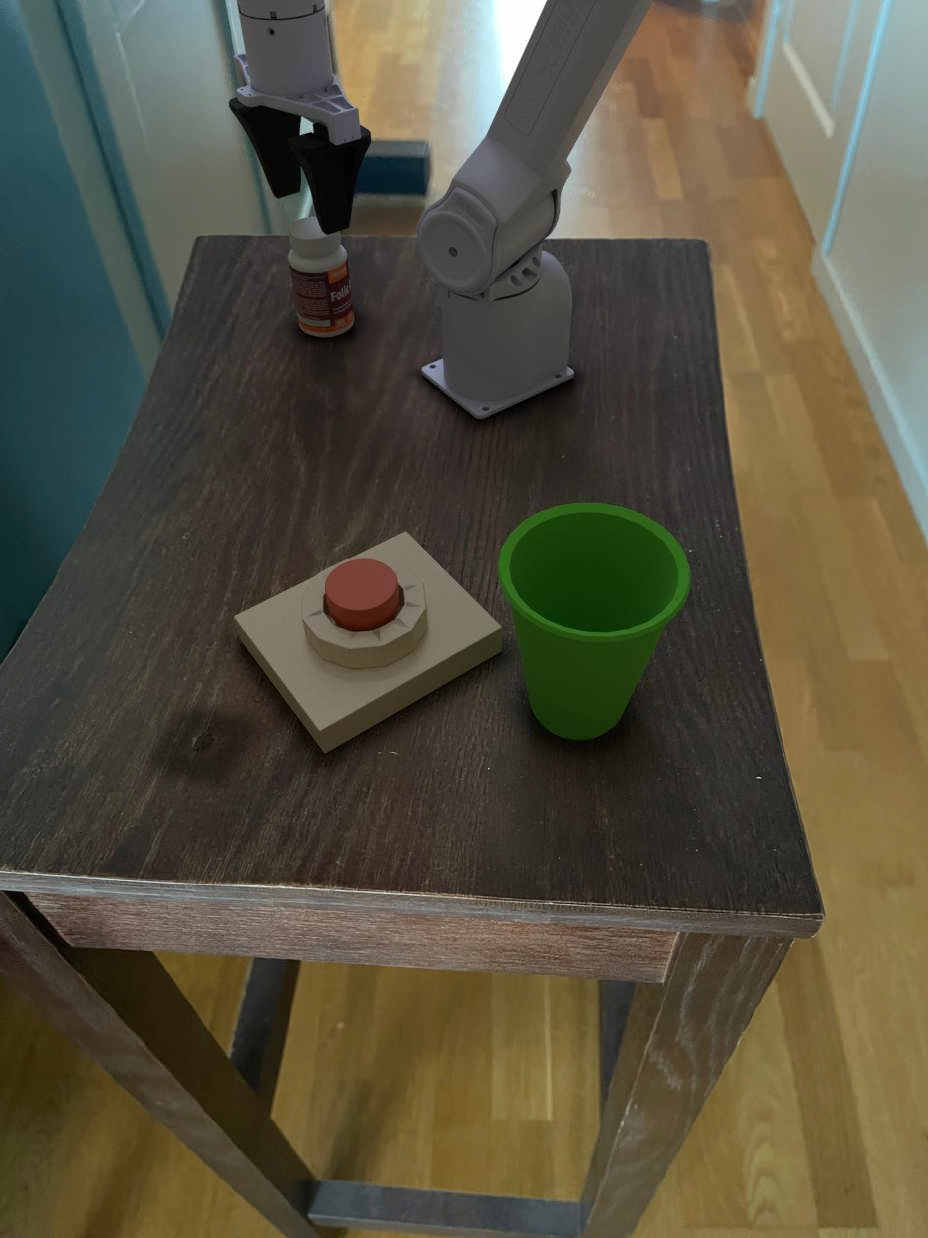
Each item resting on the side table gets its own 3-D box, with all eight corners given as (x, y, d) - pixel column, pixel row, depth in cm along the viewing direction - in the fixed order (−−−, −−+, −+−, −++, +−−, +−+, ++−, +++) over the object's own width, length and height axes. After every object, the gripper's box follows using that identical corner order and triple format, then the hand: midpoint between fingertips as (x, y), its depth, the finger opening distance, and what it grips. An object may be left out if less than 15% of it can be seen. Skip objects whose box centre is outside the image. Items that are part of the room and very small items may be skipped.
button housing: (408, 555, 59) (403, 509, 56) (502, 651, 54) (503, 605, 51) (240, 640, 55) (226, 594, 52) (324, 754, 49) (314, 711, 46)
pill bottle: (346, 341, 76) (333, 243, 70) (291, 336, 77) (274, 238, 70) (361, 311, 79) (351, 215, 73) (309, 306, 80) (294, 210, 73)
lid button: (375, 569, 53) (372, 547, 52) (413, 610, 51) (411, 588, 50) (315, 599, 52) (311, 578, 50) (352, 643, 50) (348, 621, 48)
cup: (540, 621, 55) (550, 479, 47) (682, 680, 52) (720, 539, 44) (465, 728, 50) (461, 591, 42) (617, 801, 47) (646, 668, 39)
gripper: (179, -8, 63) (222, 192, 73) (280, 48, 55) (312, 263, 65) (271, -27, 66) (299, 169, 76) (379, 24, 58) (395, 234, 68)
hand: (310, 211), depth 71 cm, fingers open, 7 cm apart
